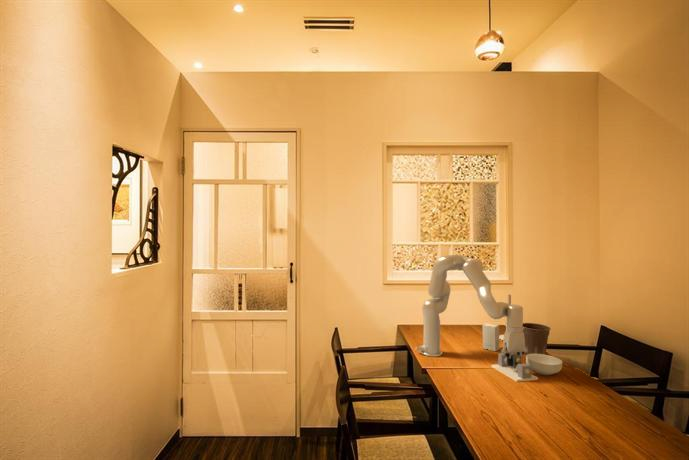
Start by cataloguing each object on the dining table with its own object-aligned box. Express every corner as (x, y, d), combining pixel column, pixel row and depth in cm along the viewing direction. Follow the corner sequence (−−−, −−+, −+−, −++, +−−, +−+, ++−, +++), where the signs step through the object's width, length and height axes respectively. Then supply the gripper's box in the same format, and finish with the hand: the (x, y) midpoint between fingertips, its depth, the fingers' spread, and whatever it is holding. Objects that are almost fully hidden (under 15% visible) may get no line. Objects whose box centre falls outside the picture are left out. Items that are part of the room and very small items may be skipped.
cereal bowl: (567, 380, 188) (567, 365, 188) (530, 377, 192) (530, 362, 191) (555, 367, 205) (555, 354, 205) (522, 364, 208) (522, 351, 208)
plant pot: (543, 349, 234) (543, 323, 234) (555, 358, 218) (555, 330, 218) (515, 348, 236) (515, 322, 236) (525, 357, 220) (525, 329, 220)
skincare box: (499, 349, 233) (500, 325, 233) (495, 351, 229) (495, 327, 229) (486, 346, 239) (486, 322, 239) (481, 348, 235) (482, 324, 235)
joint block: (506, 364, 199) (506, 352, 199) (513, 363, 200) (513, 351, 200) (514, 368, 193) (514, 356, 193) (522, 368, 194) (522, 356, 194)
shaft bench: (516, 381, 185) (516, 367, 185) (491, 366, 205) (491, 353, 205) (538, 379, 188) (538, 365, 188) (511, 365, 208) (511, 352, 207)
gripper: (524, 326, 202) (523, 361, 202) (495, 328, 198) (494, 363, 198) (534, 330, 194) (533, 366, 195) (504, 332, 191) (504, 369, 191)
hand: (514, 364), depth 196 cm, fingers closed on joint block, 4 cm apart
